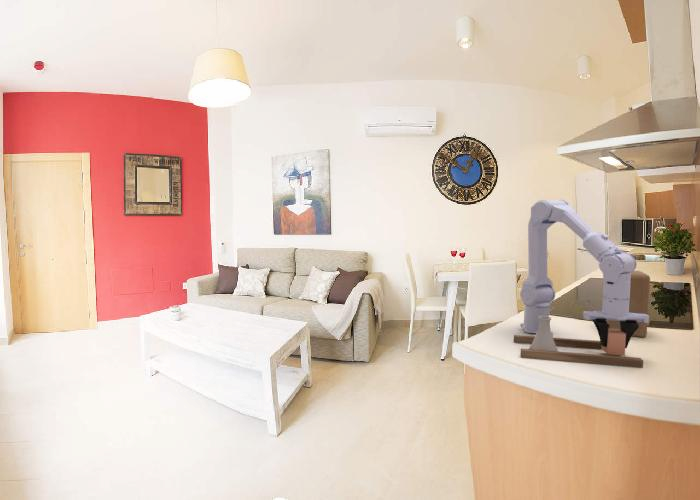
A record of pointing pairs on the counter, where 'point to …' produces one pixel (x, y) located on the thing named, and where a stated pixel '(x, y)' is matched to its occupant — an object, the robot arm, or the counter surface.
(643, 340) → the counter surface
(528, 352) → the strip
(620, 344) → the block
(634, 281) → the wooden block
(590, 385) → the counter surface
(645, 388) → the counter surface
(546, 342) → the flask
